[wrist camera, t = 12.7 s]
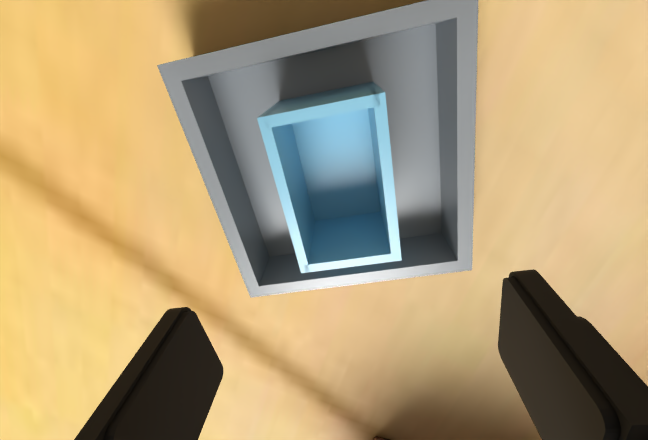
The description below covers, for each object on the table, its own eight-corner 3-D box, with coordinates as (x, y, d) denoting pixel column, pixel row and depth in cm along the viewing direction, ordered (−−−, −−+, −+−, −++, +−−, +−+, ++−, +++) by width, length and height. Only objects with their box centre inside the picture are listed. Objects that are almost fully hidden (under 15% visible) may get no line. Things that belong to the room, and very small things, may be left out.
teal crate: (373, 81, 21) (385, 92, 15) (387, 213, 25) (401, 260, 20) (279, 100, 22) (256, 118, 16) (310, 225, 26) (301, 273, 20)
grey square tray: (447, 2, 19) (478, -13, 15) (450, 234, 27) (471, 270, 23) (194, 62, 22) (157, 65, 17) (264, 260, 29) (250, 297, 25)
